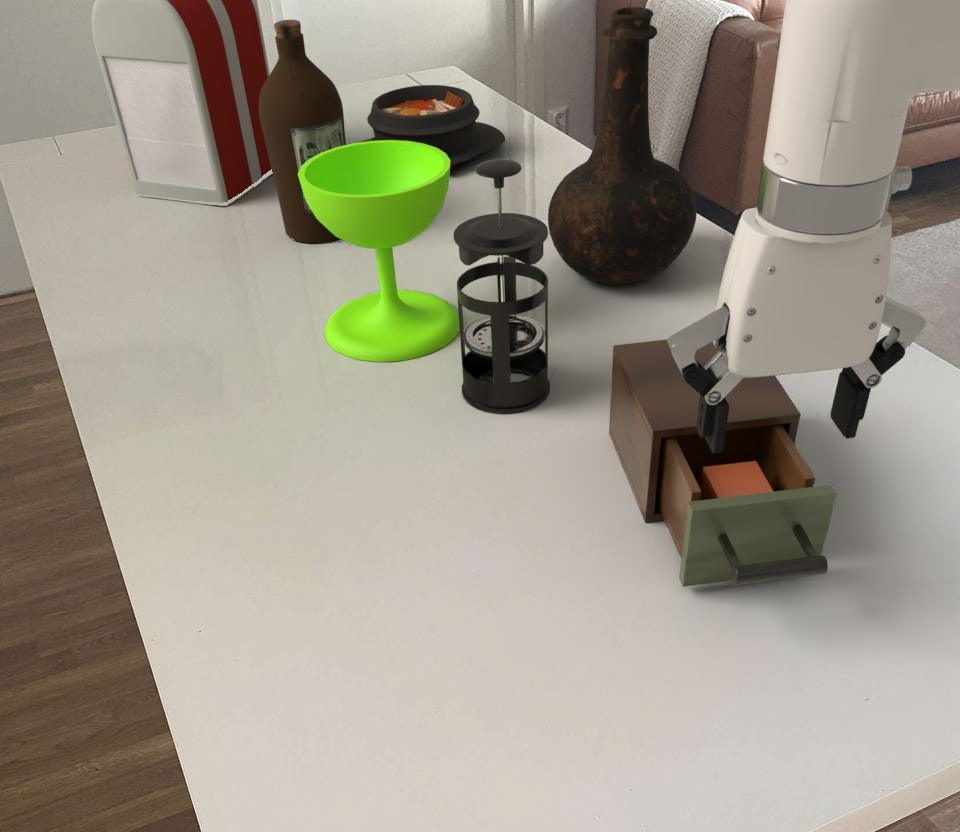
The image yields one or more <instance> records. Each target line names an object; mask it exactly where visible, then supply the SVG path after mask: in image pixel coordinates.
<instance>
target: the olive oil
mask: <svg viewBox="0 0 960 832" xmlns="http://www.w3.org/2000/svg"><path fill="white" fill-rule="evenodd" d="M301 25H302V24H301V21H300V20H298V19H282V20H279V21H276V22H275V23H274V24H273V27H274V31H275V34H276V35H275V37H274V39H275V44H276V49H277V54H278V59H277V62H275V65H274V67H273V68H272V69H271V72H270V73H269V77H268V78H267V80H266V82H265V83H264V85H263V87H262V89H261V92H260V97H259V117H260V122H261V126H262V130H263V134H264V138H265V143H266V147H267V151H268V155H269V159H270V164H271V168H272V172H273V174H272V177H273V180H274V181H273V182H274V185H275V189H276V193H277V194H276V195H277V199H278V203H279V207H280V211H281V218H282V222H283V226H284V231H285V234H286V236H287V235H288V236H289V237H290V238H289V237H288V236H287V237H288V238H289V239H291V238H292V239H294V240H293V241H295V240H296V241H295V242H298V241H300V242H299V243H302V242H306V243H305V244H322V243H329V242H333V241H336V240H339V239H340V238H338V237H336V236H335V235H334V234H332V233H331V232H330V231H329V230H328V229H327V228H326V227H325V226H324V225H323V224H322V223H321V222H320V221H319V220H317V219H316V217H315V215H314V214H313V212H312V210H311V209H310V207H309V205H308V204H307V202H306V200H305V197H304V194H303V190H302V187H301V184H300V180H299V177H298V172H299V170H300V167H301V166H302V165H303V164H304V163H305V162H306V161H307V160H308V159H310V158H312V157H314V156H316V155H317V154H319V153H322V152H324V151H327V150H330V149H333V148H336V147H340V146H344V145H347V141H346V129H345V116H344V107H343V102H342V98H341V96H340V93H339V91H338V88H337V87H336V85H335V84H334V82H333V81H332V80H331V78H330V77H329V76H328V75H327V74H326V73H324V71H322V70H321V69H320V68H319V67H318V66H317V65H316V64H315V63H314V62H313V61H312V60H310V59H309V57H308V56H307V53H306V47H305V39H304V34H303V33H302V26H301ZM292 239H291V240H292ZM307 242H308V243H307Z"/></svg>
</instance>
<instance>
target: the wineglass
mask: <svg viewBox="0 0 960 832" xmlns="http://www.w3.org/2000/svg"><path fill="white" fill-rule="evenodd" d="M359 142H360V143H358V142H352V143H348V144H346V145H344V146H340V147H336V148H333V149H330V150H327V151H324V152H322V153H319V154H317V155H316V156H314V157H312V158H310V159H308V160H307V161H306V162H305V163H304V164H303V165H302V166H301V167H300V170H299V172H298V177H299V180H300V184H301V187H302V190H303V194H304V197H305V200H306V202H307V204H308V205H309V207H310V209H311V210H312V212H313V214H314V215H315V217H316V219H317V220H319V221H320V222H321V223H322V224H323V225H324V226H325V227H326V228H327V229H328V230H329V231H330V232H331V233H332V234H334V235H335V236H336V237H338V238H339V239H340V240H343V241H344V242H346V243H349V244H351V245H353V246H355V247H358V248H363V249H371V250H375V260H376V267H377V276H378V283H379V290H380V291H378V292H373V293H369V294H366V295H362V296H359V297H357V298H354V299H353V300H352V299H351V300H350V301H348V302H346V303H345V304H343V305H342V306H341V307H339V308H338V309H336V310H335V311H334V312H333V313H332V314H331V316H330V317H329V319H328V320H327V322H326V326H325V330H324V337H325V339H326V343H327V344H328V345H329V346H330V347H331V348H332V350H334V351H335V352H337V353H339V354H342V355H343V356H345V357H349V358H352V359H355V360H359V361H366V362H375V363H376V362H377V363H383V362H384V363H386V362H400V361H407V360H413V359H417V358H420V357H423V356H426V355H430V354H432V353H435V352H436V351H438V350H440V349H442V348H444V347H446V346H447V345H448V344H449V343H451V342H452V341H453V340H454V339H456V337H457V335H458V334H459V333H460V326H459V312H458V311H457V310H456V308H455V307H454V305H453V306H452V304H451V303H449V302H448V301H447V300H445V299H443V298H441V297H439V296H437V295H435V294H432V293H428V292H424V291H419V290H406V289H399V290H398V286H397V278H396V267H395V259H394V258H395V257H394V250H393V248H396V247H400V246H402V245H404V244H407V243H409V242H411V241H412V240H414V239H415V238H416V237H418V236H419V235H420V234H421V233H423V232H424V231H425V230H427V229H428V228H429V227H430V226H431V224H432V223H433V221H434V220H435V218H436V217H437V215H438V214H439V212H440V211H441V209H442V208H443V206H444V203H445V200H446V197H447V194H448V191H449V187H450V173H451V166H450V159H449V157H448V156H447V154H446V153H444V152H443V151H441V150H440V149H438V148H436V147H433V146H430V145H427V144H423V143H417V142H411V141H399V140H380V141H367V142H361V141H359Z"/></svg>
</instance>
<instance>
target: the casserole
mask: <svg viewBox="0 0 960 832" xmlns="http://www.w3.org/2000/svg"><path fill="white" fill-rule="evenodd" d="M370 109H371V110H370V113H369V114H368V116H367V117H366V121H367V124H368V125H369V126H370V127H371V129H372V131H373V134H374V137H371V138H368V139H364V140H361V141H358V142H357V143H360V142H367V141H380V140H399V141H411V142H417V143H423V144H427V145H430V146H433V147H436V148H438V149H440V150H441V151H443V152H444V153H446V154H447V156H448V157H449V159H450V167H452V166H455V165H458V164H461V163H463V162H466V161H469V160H470V159H473V158H475V157H476V156H478V155H481V154H483V153H485V152H488V151H491V150H494V149H497V148H499V147H501V146H502V145H503V144H505V142H506V136H505V134H504V133H503V132H502V131H501V130H500V129H499V128H497V127H495V126H493V125H490V124H488V123H485V122H480V121H477V120H478V118H479V116H480V113H481V112H480V109H479V107H477V105H476V104H475V102H474V99H473V96H472V94H471V93H470V92H469V91H467V90H465V89H462V88H460V87H455V86H450V85H442V84H441V85H440V84H421V85H412V86H406V87H401V88H396V89H393V90H390V91H387V92H384V93H383V94H380V95H379V96H377V97H376V98H375V99H374V100H373V102H372V104H371V108H370Z"/></svg>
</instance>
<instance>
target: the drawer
mask: <svg viewBox="0 0 960 832" xmlns="http://www.w3.org/2000/svg"><path fill="white" fill-rule="evenodd" d="M750 461H756V462H757V463H758V465H759V467H760V469H761V470H762V472H763V474H764V476H765V477H766V479H767V481H768V483H769V484H770V486H771V488H772V490H773V491H774V492H766V493H758V494H750V495H741V496H733V497H725V498H717V499H708V500H700V499H701V490H700V486H701V478H702V470H703V467H708V466H716V465H725V464H733V463H742V462H750ZM815 482H816V476H815V474H814V473H813V471H812V470H811V468H810V467H809V465H808V464H807V462H806V461H805V459H804V457H803V456H802V454H801V453H800V450H799V449H798V448H797V446H796V445H794V443H793V441H792V440H791V438H790V437H789V435H788V434H787V432H786V430H785V429H784V427H783V426H782V424H777V425H768V426H759V427H751V428H742V429H734V430H726V434H725V441H724V448H723V450H721V452H719V453H712V451H711V449H710V447H709V445H708V443H707V441H706V439H705V437H700V435H699V434H691V435H682V436H674V437H665V438H661V447H660V458H659V469H658V479H657V490H656V501H657V503H658V506H659V508H660V510H661V513H662V515H663V517H664V522H665V524H666V527H667V529H668V531H669V533H670V536H671V538H672V541H673V543H674V545H675V548H676V550H677V552H678V555H679V557H680V567H679V574H678V579H679V582H680V583H681V587H683V588H686V587H691V586H692V587H693V586H699V585H700V586H701V585H708V584H717V583H725V582H731V581H732V583H733V584H734V585H736V586H737V585H738V586H739V585H745V584H754V583H761V582H768V581H769V582H770V581H777V580H785V579H793V578H802V577H808V576H810V577H811V576H817V575H818V576H819V575H825V574H827V572H828V568H829V563H828V559H827V557H826V556H825V555H822V554H823V551H824V546H825V542H826V537H827V534H828V531H829V526H830V522H831V519H832V514H833V510H834V508H835V507H834V506H835V502H836V499H837V495H838V493H837V492H836V489H835V488H834V487H833V485H832V484H825V485H817V486H815Z"/></svg>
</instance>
